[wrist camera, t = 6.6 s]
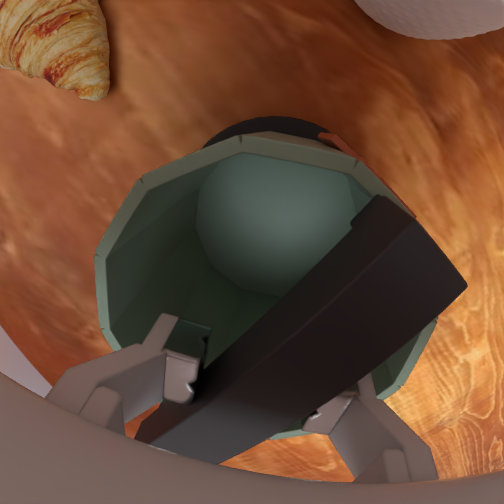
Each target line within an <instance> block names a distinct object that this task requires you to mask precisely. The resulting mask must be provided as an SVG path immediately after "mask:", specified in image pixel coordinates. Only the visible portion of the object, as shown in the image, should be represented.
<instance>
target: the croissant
mask: <svg viewBox="0 0 504 504" xmlns="http://www.w3.org/2000/svg"><path fill="white" fill-rule="evenodd" d="M98 2H99V0H0V66H1V67H2V68H8V69H10V70H19V71H20V72H22V74H23V75H25V76H27V77H30V78H32V77H33V76H37V77H42V78H45V79H46V80H48V81H49V82H50V83H51V84H52V85H53V86H54V87H56V88H65V89H67V90H72V89H75V92H76V94H77V95H78V96H79V97H80V98H81V99H89V100H92V101H98V100H100V99H102V98H103V97H106V96H107V93H108V90H109V86H110V80H109V75H110V70H109V53H110V48H109V42H108V38H107V28H106V20H105V18H104V16H103V13H102V10H101V8H100V6H99V4H98Z"/></svg>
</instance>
